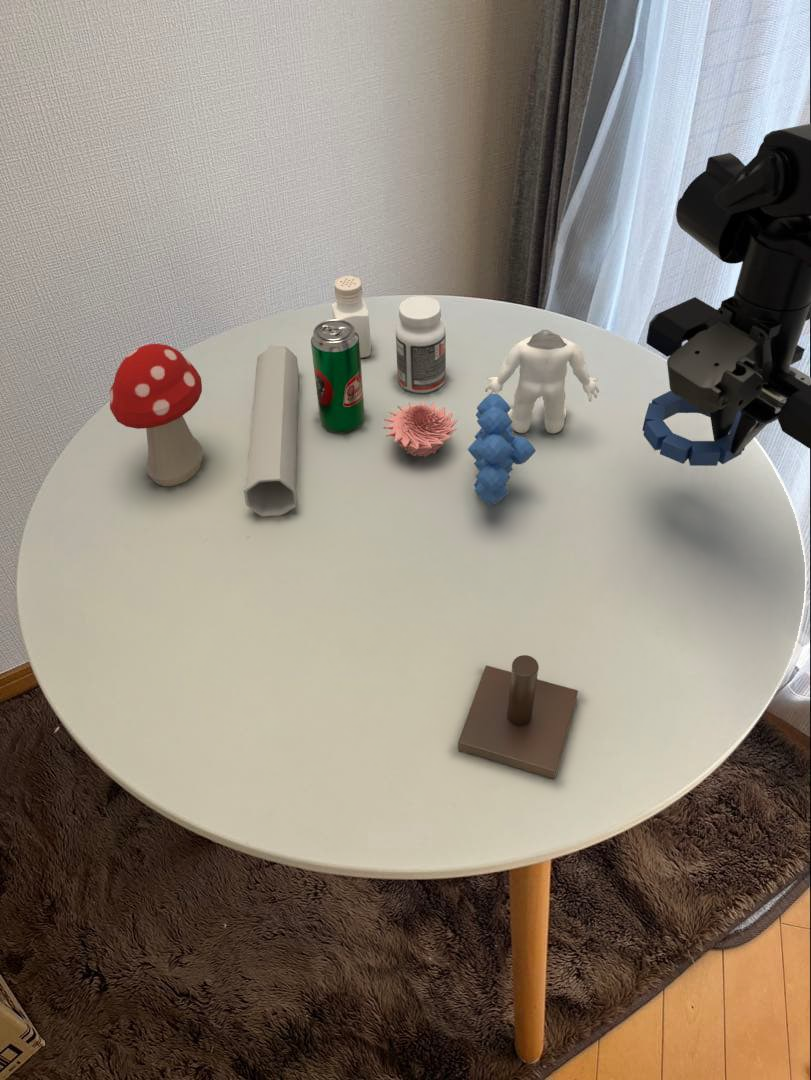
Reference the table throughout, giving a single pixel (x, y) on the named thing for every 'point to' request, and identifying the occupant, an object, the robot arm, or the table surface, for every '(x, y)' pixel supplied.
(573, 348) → the toy creature
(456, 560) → the table surface
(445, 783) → the table surface
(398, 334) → the pill bottle
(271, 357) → the tube
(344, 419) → the soda can
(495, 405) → the grapes
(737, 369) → the robot arm
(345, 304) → the pepper shaker
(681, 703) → the table surface
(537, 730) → the post
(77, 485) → the table surface
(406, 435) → the flower
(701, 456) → the ring
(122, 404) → the decorative mushroom
